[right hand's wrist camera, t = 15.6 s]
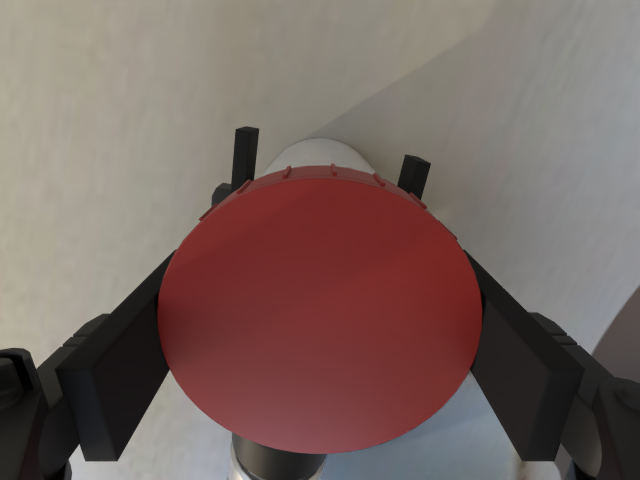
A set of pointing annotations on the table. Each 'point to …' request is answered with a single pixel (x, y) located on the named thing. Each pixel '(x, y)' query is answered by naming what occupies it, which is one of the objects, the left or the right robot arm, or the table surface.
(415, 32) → the table surface
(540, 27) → the table surface
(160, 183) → the table surface
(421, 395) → the lid
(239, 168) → the left robot arm
